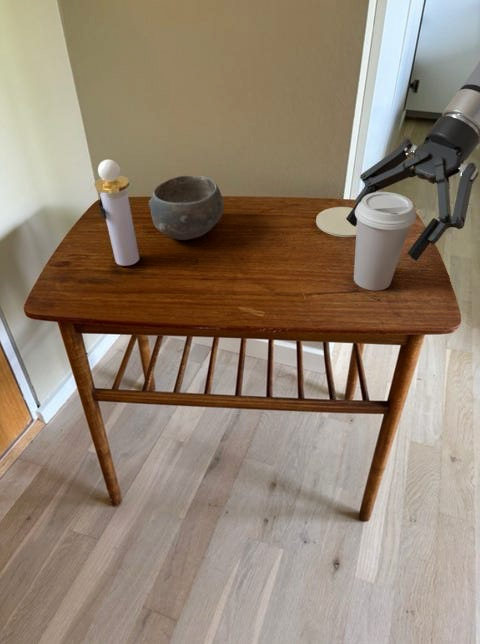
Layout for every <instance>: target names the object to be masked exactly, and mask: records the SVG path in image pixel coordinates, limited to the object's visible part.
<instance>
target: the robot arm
mask: <svg viewBox="0 0 480 644" xmlns="http://www.w3.org/2000/svg"><path fill="white" fill-rule="evenodd" d="M479 144H480V61H479V62H478V64H477V65H476V67H474V69H473V70H472V72H471V73H470V75H469V76H468V78H467V79H466V81H465V82H464V83H463V85H462V86H461V87H460V89H459V90H458V91H457V92H456V93H455V95H454V96H453V97H452V99H451V100H450V102H449V103H448V105H447V106H446V107H445V109H444V110H443V111H442V114H441V116H440V117H439V118H438V119H437V120H436V121H435V123H434V124H433V126H432V127H431V129H429V131H428V133H427V134H426V136H425V138H424V141H423V142H422V143H421V144H420V145H419V146H417V145H416V144H414V143H412V141H411V139H409V138H405V139H404V140H403V141H402V142H401V143H400V145H399V146H398V147H397V148H396V149H394V150H393V151H392V152H391V153H389V154H388V155H387V156H385V157H384V158H382V159H381V160H379V161H378V162H376V163H375V164H374V165H372V166H371V167H370V168H368V169H366V170H365V171H364V172H362V173H361V174H360V176H359V179H360V180H361V182H362V183H363V184H364V187H363V188H362V190H361V191H360V192H359V194H358V196H357V197H356V198H355V200H354V203H355V205H354V207H352V208H353V209H352V211H351V212H350V214H349V215H348V216H347V218H346V220H347V221H348V222H349V223H350V224H352V225H353V226H356V225H357V218H356V216H355V209H356V207H357V206H358V204H359V203H360V202H361V201H362V199H363V197H364V196H366V195H368V194H370V193H375V192H380V190H384V189H385V188H388V187H389V186H392V185H395V184H397V183H399V182H401V181H404V180H406V179H408V178H415V177H418V179H421V180H425V181H428V182H429V183H430V184H433V185H434V184H436V187H437V188H436V189H437V202H438V203H437V205H438V219H437V218H435V217H432V219H431V220H430V222H429V223H428V225H427V226H426V227H425V229H424V230H423V231H422V232H421V233H420V235H419V236H418V238H417V239H416V240H415V241H414V243H413V244H412V246H411V247H410V248H409V250H408V251H407V254H408V255H409V257H410V258H411V259H412V260H413V261H415V262H417V261H418V260H419V258H420V257H421V256H422V254H423V253H424V252H425V250H427V248H428V247H429V245H430V244H432V245H433V246H434V245H435V244H437V242H438V241H439V240H440V239H441V238H442V236H443V235H444V234H445V232H446V230H448V229H449V228H450V229H451V228H455V229H457V230H462V229H464V227H465V225H466V224H465V223H466V218H467V215H468V214H467V213H468V208H469V203H470V198H471V193H472V188H473V184H474V183H475V182H476V180H477V177H478V176H479V170H478V168H477V165H476V164H475V162H469V163H468V164H467V163H465V161H467V160H468V159H469V158H470V156H471V155H472V154H473V152H474V151H475V150H476V148H477V147H478V145H479ZM408 158H409V159H408ZM412 167H413V168H412ZM457 174H459V176H460V178H459V183H458V187H457V192H456V197H455V202H454V203H455V204H454V207H453V211H452V208H451V195H450V189H451V185H450V184H451V183H450V178H451V177H453V176H455V175H457ZM452 212H453V213H452Z"/></svg>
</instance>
